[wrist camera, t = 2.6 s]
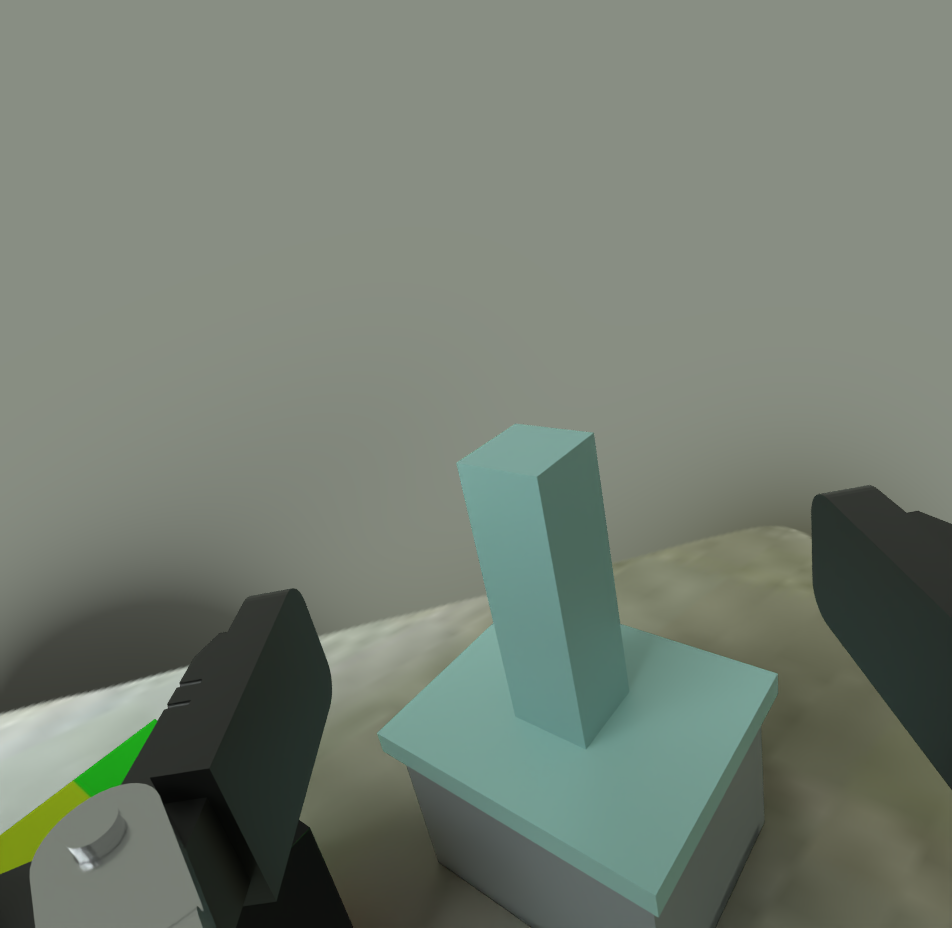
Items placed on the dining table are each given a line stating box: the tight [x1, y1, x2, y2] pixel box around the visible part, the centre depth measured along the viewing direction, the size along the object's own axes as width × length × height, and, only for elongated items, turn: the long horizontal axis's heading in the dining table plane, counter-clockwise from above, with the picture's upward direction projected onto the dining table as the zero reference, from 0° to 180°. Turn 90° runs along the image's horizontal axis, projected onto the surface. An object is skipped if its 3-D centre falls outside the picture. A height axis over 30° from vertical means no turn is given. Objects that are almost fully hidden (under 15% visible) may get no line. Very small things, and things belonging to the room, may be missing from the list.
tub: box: [406, 727, 765, 928], centre depth 28 cm, size 11×9×7 cm
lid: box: [377, 424, 778, 918], centre depth 24 cm, size 12×10×12 cm
